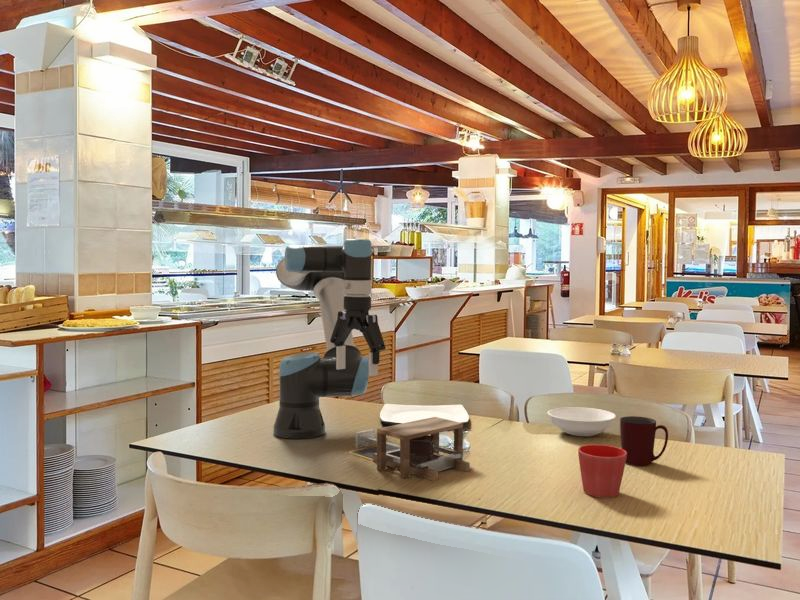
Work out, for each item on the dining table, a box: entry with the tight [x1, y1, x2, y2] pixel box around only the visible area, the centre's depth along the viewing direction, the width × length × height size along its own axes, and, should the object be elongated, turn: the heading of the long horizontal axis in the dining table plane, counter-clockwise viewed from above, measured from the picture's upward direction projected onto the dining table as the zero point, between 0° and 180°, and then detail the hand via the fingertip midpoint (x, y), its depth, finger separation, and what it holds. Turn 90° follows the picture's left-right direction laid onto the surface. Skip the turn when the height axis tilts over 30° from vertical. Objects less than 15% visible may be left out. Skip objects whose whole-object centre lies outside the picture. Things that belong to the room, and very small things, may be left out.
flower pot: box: [577, 444, 627, 499], centre depth 170 cm, size 11×11×10 cm
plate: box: [379, 403, 470, 426], centre depth 243 cm, size 29×29×3 cm
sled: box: [355, 428, 464, 472], centre depth 196 cm, size 29×16×5 cm, turn 43°
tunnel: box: [373, 417, 471, 482], centre depth 190 cm, size 22×20×10 cm
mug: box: [619, 415, 669, 467], centre depth 194 cm, size 12×9×11 cm
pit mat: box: [347, 445, 393, 462], centre depth 202 cm, size 10×12×1 cm
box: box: [410, 435, 434, 463], centre depth 190 cm, size 6×6×7 cm
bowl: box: [547, 406, 617, 437], centre depth 225 cm, size 20×20×6 cm
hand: (356, 372), depth 208 cm, fingers open, 13 cm apart
